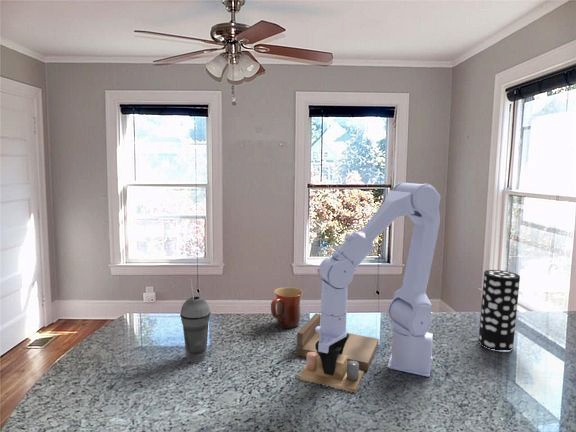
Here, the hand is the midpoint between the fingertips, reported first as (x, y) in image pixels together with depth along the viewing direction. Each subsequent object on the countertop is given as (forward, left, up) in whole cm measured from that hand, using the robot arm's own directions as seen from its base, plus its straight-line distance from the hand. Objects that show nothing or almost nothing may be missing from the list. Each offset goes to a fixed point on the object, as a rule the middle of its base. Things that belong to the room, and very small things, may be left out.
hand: (331, 368), depth 87 cm
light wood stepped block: (+2, -13, -2) cm, 13 cm away
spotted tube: (-36, -34, -2) cm, 50 cm away
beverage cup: (+33, +6, -2) cm, 34 cm away
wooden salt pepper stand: (0, 0, -2) cm, 2 cm away
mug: (+21, -21, -2) cm, 30 cm away
